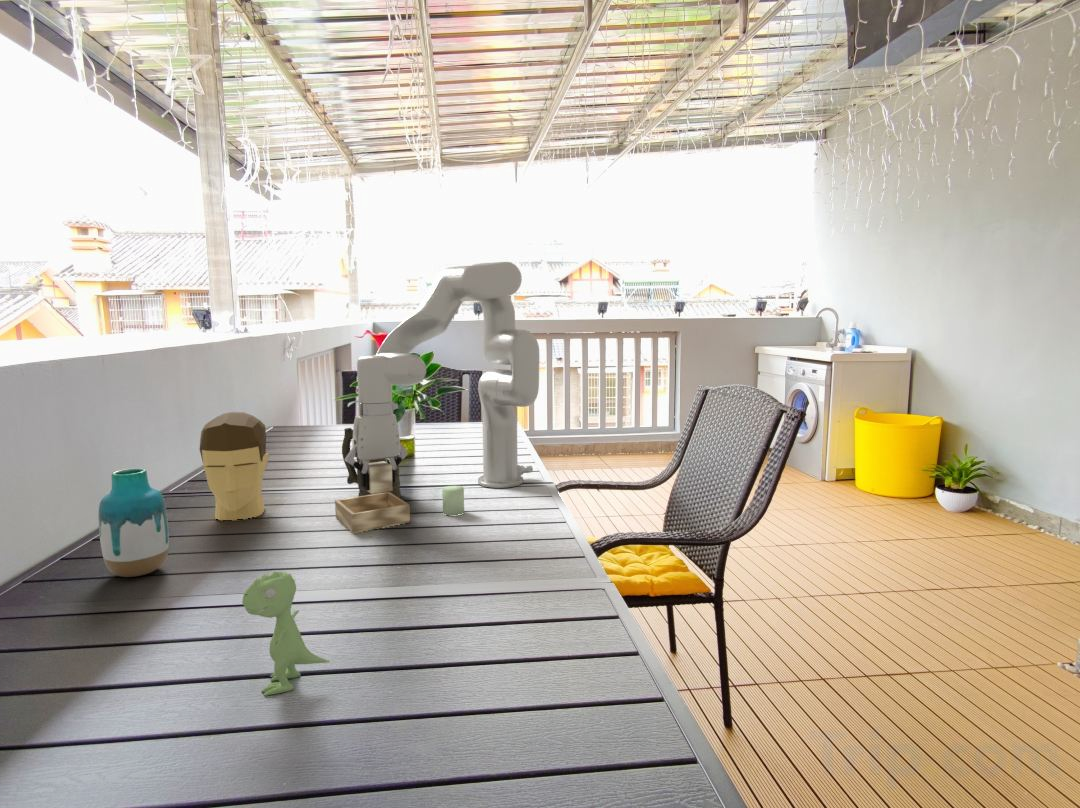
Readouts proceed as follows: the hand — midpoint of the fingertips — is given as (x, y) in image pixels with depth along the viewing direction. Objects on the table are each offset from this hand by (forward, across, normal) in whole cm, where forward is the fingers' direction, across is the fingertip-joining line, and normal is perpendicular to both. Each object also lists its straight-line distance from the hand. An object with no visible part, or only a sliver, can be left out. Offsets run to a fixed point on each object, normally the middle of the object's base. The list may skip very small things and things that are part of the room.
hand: (378, 486), depth 152 cm
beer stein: (+7, -4, -17) cm, 19 cm away
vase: (+8, +48, +8) cm, 49 cm away
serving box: (+7, +2, +2) cm, 8 cm away
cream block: (+1, 0, 0) cm, 1 cm away
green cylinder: (+7, -16, +7) cm, 19 cm away
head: (+8, +27, -19) cm, 34 cm away
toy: (+8, +33, +61) cm, 70 cm away
